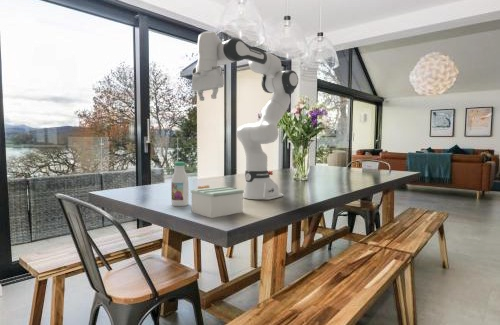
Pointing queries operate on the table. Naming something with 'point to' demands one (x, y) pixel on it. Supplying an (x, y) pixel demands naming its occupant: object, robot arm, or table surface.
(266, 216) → the table surface
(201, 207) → the box
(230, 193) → the snap lid
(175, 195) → the milk bottle
